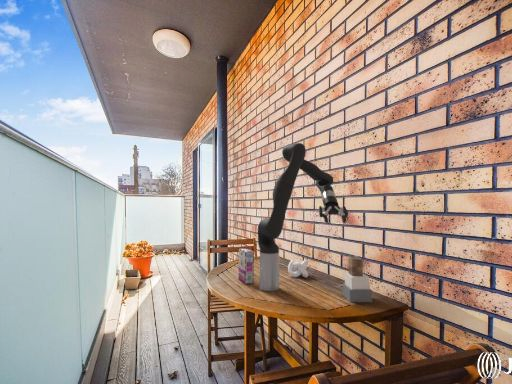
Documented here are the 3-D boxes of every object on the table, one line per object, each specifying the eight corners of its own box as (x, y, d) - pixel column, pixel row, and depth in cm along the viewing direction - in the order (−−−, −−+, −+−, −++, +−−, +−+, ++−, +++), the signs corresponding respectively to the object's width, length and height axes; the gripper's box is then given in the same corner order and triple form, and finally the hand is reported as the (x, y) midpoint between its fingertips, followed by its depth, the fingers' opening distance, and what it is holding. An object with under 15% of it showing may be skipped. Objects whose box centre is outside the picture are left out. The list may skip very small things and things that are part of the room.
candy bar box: (254, 283, 128) (254, 251, 129) (245, 284, 126) (245, 251, 127) (246, 277, 138) (246, 248, 139) (238, 278, 136) (238, 248, 137)
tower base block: (350, 302, 103) (349, 290, 103) (342, 294, 112) (342, 283, 112) (372, 302, 103) (371, 290, 103) (363, 295, 112) (362, 283, 112)
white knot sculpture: (286, 278, 137) (286, 262, 138) (288, 273, 149) (288, 257, 149) (307, 279, 135) (307, 263, 135) (308, 274, 146) (308, 258, 147)
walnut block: (352, 276, 106) (351, 259, 106) (348, 273, 110) (348, 257, 111) (362, 276, 106) (362, 259, 106) (358, 273, 110) (358, 257, 111)
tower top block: (351, 289, 104) (351, 277, 104) (345, 284, 111) (344, 272, 112) (369, 289, 104) (369, 277, 104) (361, 283, 111) (361, 272, 112)
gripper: (317, 195, 135) (322, 217, 123) (344, 195, 135) (352, 217, 123) (315, 205, 140) (320, 227, 128) (341, 205, 140) (348, 227, 127)
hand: (335, 222), depth 125 cm, fingers open, 8 cm apart
